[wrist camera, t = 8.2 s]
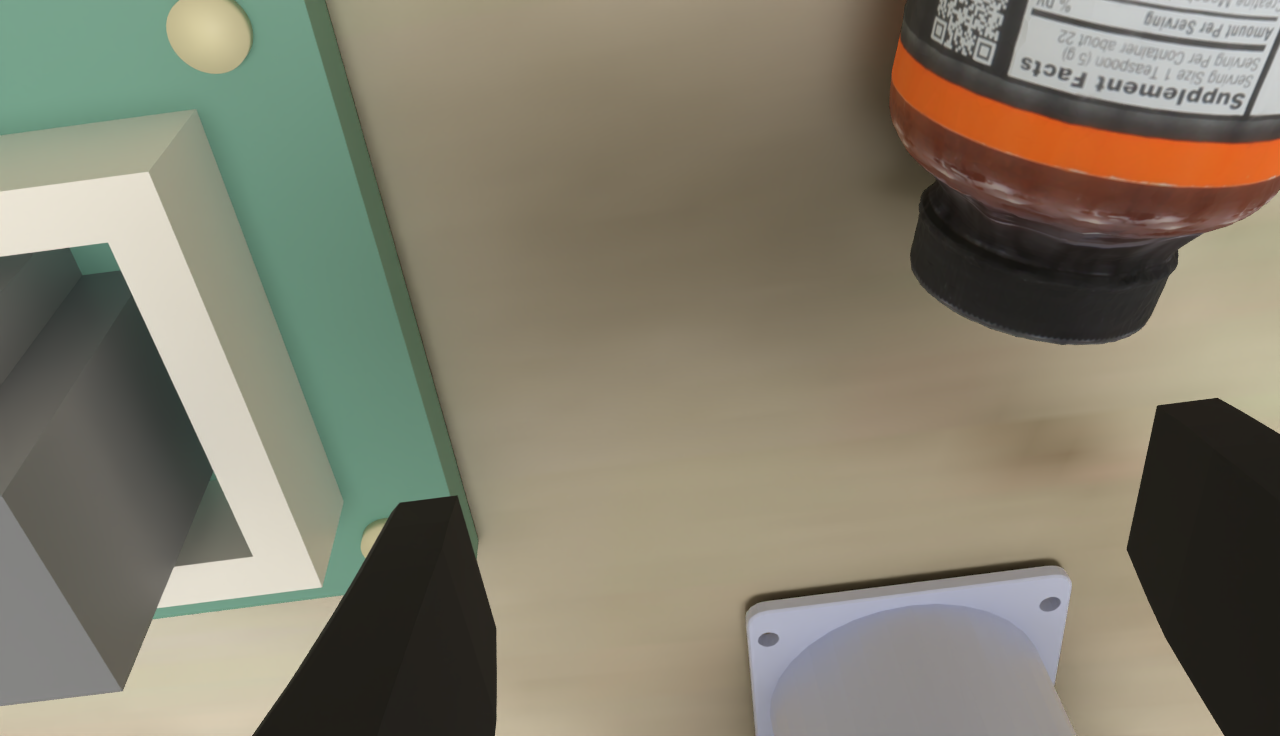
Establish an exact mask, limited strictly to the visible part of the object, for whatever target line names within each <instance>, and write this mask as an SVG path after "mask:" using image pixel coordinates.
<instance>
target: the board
mask: <svg viewBox="0 0 1280 736" xmlns="http://www.w3.org/2000/svg"><path fill="white" fill-rule="evenodd" d="M193 109H196V110H197V113H198V115H199V118H200V121H201V123H202V126H203V129H204V131H205V134H206V137H207V139H208V142H209V145H210V147H211V150H212V153H213V155H214V158H215V161H216V163H217V166H218V168H219V171H220V174H221V176H222V179H223V182H224V184H225V187H226V190H227V192H228V195H229V198H230V200H231V203H232V206H233V208H234V211H235V214H236V216H237V219H238V222H239V224H240V227H241V230H242V232H243V235H244V238H245V240H246V243H247V246H248V248H249V251H250V254H251V256H252V259H253V262H254V264H255V267H256V270H257V272H258V275H259V278H260V280H261V283H262V286H263V288H264V291H265V294H266V296H267V299H268V302H269V304H270V307H271V310H272V312H273V315H274V317H275V320H276V323H277V325H278V328H279V331H280V333H281V336H282V339H283V341H284V344H285V347H286V349H287V352H288V355H289V357H290V360H291V363H292V365H293V368H294V371H295V373H296V376H297V379H298V381H299V384H300V387H301V389H302V392H303V395H304V397H305V400H306V403H307V405H308V408H309V411H310V413H311V416H312V419H313V421H314V424H315V427H316V429H317V432H318V435H319V437H320V440H321V443H322V445H323V448H324V451H325V453H326V456H327V458H328V461H329V464H330V466H331V469H332V472H333V474H334V477H335V480H336V482H337V485H338V488H339V490H340V493H341V496H342V498H343V501H344V502H343V506H342V511H341V515H340V519H339V523H338V527H337V531H336V535H335V539H334V543H333V547H332V551H331V555H330V559H329V563H328V567H327V571H326V575H325V579H324V583H323V587H321V588H313V589H305V590H297V591H289V592H281V593H273V594H266V595H258V596H250V597H242V598H234V599H226V600H218V601H210V602H203V603H195V604H187V605H179V606H171V607H163V608H157V609H156V611H155V614H154V616H153V619H158V618H166V617H174V616H182V615H190V614H198V613H206V612H214V611H221V610H229V609H237V608H245V607H253V606H261V605H269V604H277V603H285V602H292V601H300V600H308V599H316V598H324V597H332V596H340V595H345V593H346V591H347V590H348V588H349V586H350V585H351V583H352V581H353V579H354V578H355V576H356V574H357V573H358V571H359V569H360V567H361V566H362V564H363V562H364V560H365V559H366V557H367V555H368V553H369V552H370V550H371V548H372V546H373V544H374V543H375V541H376V539H377V537H378V535H379V534H380V532H381V530H382V528H383V526H384V525H385V523H386V521H387V519H388V517H389V516H390V514H391V512H392V511H393V510H394V509H395V507H396V506H397V505H398V504H399V503H401V502H409V501H416V500H424V499H432V498H440V497H448V496H455V495H458V498H459V502H460V505H461V509H462V512H463V516H464V519H465V522H466V526H467V529H468V533H469V536H470V540H471V543H472V547H473V550H474V553H475V557H476V560H477V549H478V538H477V534H476V531H475V527H474V524H473V520H472V516H471V513H470V509H469V506H468V502H467V499H466V495H465V492H464V488H463V485H462V481H461V478H460V474H459V471H458V467H457V464H456V460H455V457H454V453H453V450H452V446H451V443H450V439H449V436H448V432H447V428H446V425H445V421H444V418H443V414H442V411H441V407H440V404H439V400H438V397H437V393H436V390H435V386H434V383H433V379H432V376H431V372H430V369H429V365H428V362H427V358H426V355H425V351H424V348H423V344H422V341H421V337H420V333H419V330H418V326H417V323H416V319H415V316H414V312H413V309H412V305H411V302H410V298H409V295H408V291H407V288H406V284H405V281H404V277H403V274H402V270H401V267H400V263H399V260H398V256H397V253H396V249H395V245H394V242H393V238H392V235H391V231H390V228H389V224H388V221H387V217H386V214H385V210H384V207H383V203H382V200H381V196H380V193H379V189H378V186H377V182H376V179H375V175H374V172H373V168H372V165H371V161H370V157H369V154H368V150H367V147H366V143H365V140H364V136H363V133H362V129H361V126H360V122H359V119H358V115H357V112H356V108H355V105H354V101H353V98H352V94H351V91H350V87H349V84H348V80H347V77H346V73H345V69H344V66H343V62H342V59H341V55H340V52H339V48H338V45H337V41H336V38H335V34H334V31H333V27H332V24H331V20H330V17H329V13H328V10H327V6H326V3H325V0H0V135H7V134H15V133H22V132H29V131H37V130H44V129H52V128H59V127H67V126H74V125H81V124H89V123H96V122H104V121H111V120H118V119H126V118H133V117H141V116H148V115H155V114H163V113H170V112H178V111H185V110H193ZM70 251H71V253H72V255H73V257H74V259H75V261H76V263H77V265H78V267H79V269H80V271H81V273H82V275H88V274H96V273H104V272H112V271H120V267H119V265H118V263H117V261H116V259H115V257H114V254H113V252H112V250H111V248H110V246H109V244H108V242H107V243H100V244H92V245H85V246H77V247H70ZM212 480H218V479H217V477H216V475H215V473H214V471H213V473H212V476H211V478H210V481H212Z"/></svg>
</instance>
